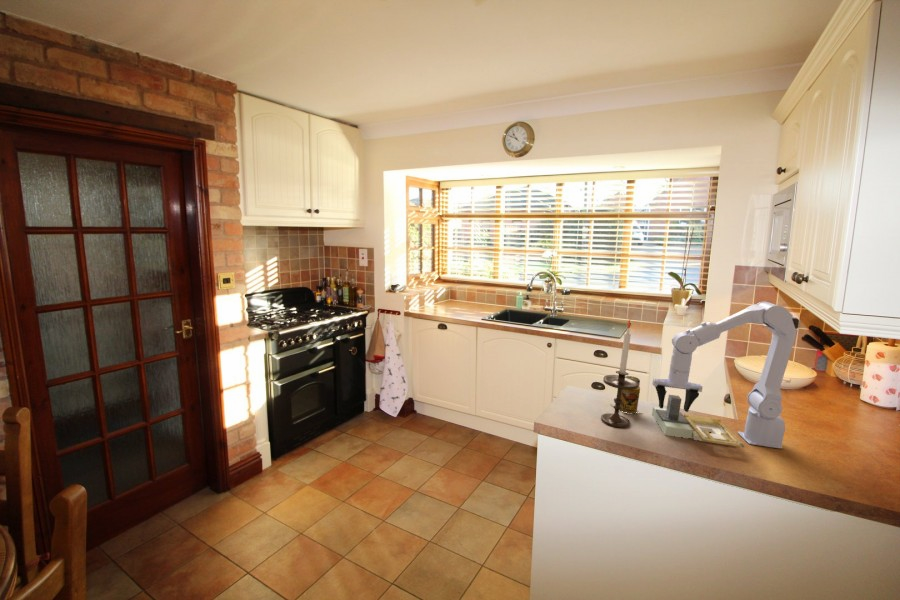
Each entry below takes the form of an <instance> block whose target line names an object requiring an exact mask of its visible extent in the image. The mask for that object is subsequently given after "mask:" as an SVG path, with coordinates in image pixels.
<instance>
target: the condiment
mask: <svg viewBox="0 0 900 600" xmlns="http://www.w3.org/2000/svg"><path fill="white" fill-rule="evenodd" d="M625 377H628V378H631V379H634V380H636V381H637V382H638V383H639V387H638V389H635V390H624V389H622V394H621V399H622V400H623V402H622V404H620V407H621V409H620V410H621V411H623V412H627V414H626V415H629V414H628V413H635V415H636V412H637V414H643V411H640V410H639V409H638V406H639V399H640V391H641V387H640V382H641V380H640V378H638V377H636V376H630V375H625ZM610 406H612V407H613V406H615V403H614V404H610ZM620 410H619V412H621V411H620ZM623 412H622V413H623ZM638 412H639V413H638Z"/></svg>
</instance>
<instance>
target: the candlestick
mask: <svg viewBox="0 0 900 600" xmlns="http://www.w3.org/2000/svg"><path fill="white" fill-rule="evenodd" d="M627 323H628V324H627V328H626V332H624V336H623V341H622V342H623V343H622V350H621V358H620V364H619V370H616V371H615V373H616V374H607V375H604V377H603V380H602V381H603V383H604V384H606V385H607V386H608V387H612V388H614V389H617V391H616V392H617V393H616V397H615V398H614V399H613V403H614V404H615V406H612V407H613V409H614V413H610V412H609V413H603V414H602V415H601V417H600V420H601V422H602V423H604V424H605V425H606V426H610V427H613V428H616V429H627V428H630V426H631V420H630V419H629V418H627V417H625V416H623V415H620V411H619V410H620V409H621V407H620V404H622V402H623V400H622V399H621V394H622V389H624V390H635V389H638V387H640V385H639V384H640V383H638V382H637V381H636V380H634V379H631V378H628V377H626V376H630V374H629V372H626V371H627V370H626V369H627V365H628V356H629V351H630V342H631V335H632V334H631V332H630V327H631V319H629V320H628V321H627Z"/></svg>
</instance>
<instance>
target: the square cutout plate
mask: <svg viewBox="0 0 900 600" xmlns="http://www.w3.org/2000/svg"><path fill="white" fill-rule="evenodd" d="M656 409H658V410H665V411H666V409H667V407H666V408H665V407H663V409H662V408H660V407H659V406H652V411H651V416H652V417H653V416H654V417H653V419H654V420H655V422H656V421H657V422H656V423H657V425H658V424H659V425H658V426H659V428H660V429H661V431H662V432H663V434H664V435H665V436H668V437H674V436H675V438H681V437H683V439H688V438H691V439H693V438H692V432H693V430H692V428H691V427H690V426H689V425H688V424H682V423H675V422H668V421H662V420H661V418H660V417H659V415H658V414H657V412H656Z"/></svg>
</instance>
